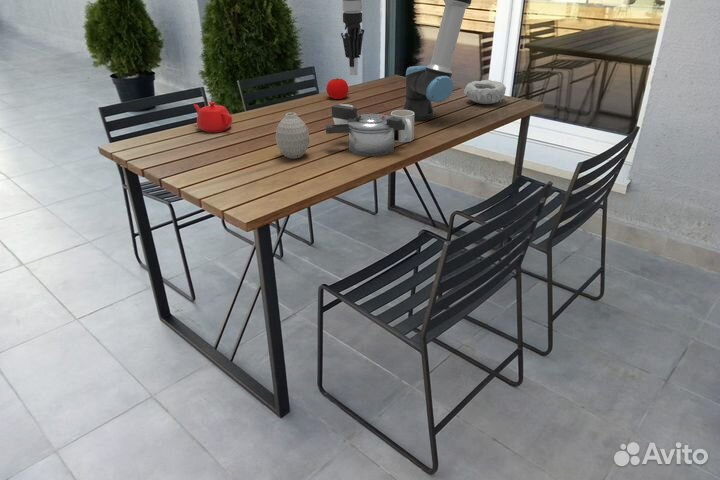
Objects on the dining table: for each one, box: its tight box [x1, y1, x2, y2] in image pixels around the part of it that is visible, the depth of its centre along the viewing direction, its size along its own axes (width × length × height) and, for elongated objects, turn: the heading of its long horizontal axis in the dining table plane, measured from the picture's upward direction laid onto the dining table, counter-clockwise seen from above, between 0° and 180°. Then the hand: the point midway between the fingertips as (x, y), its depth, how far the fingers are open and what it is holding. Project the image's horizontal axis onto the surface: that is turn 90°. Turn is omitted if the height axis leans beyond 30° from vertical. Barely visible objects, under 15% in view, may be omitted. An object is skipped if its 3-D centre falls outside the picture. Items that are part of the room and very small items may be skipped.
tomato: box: [326, 78, 350, 100], centre depth 288 cm, size 12×12×10 cm
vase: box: [275, 112, 310, 160], centre depth 209 cm, size 13×13×17 cm
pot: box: [325, 121, 405, 157], centre depth 216 cm, size 31×19×10 cm, turn 96°
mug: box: [390, 109, 415, 143], centre depth 225 cm, size 10×12×11 cm
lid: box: [331, 104, 402, 131], centre depth 214 cm, size 31×19×5 cm, turn 56°
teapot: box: [193, 101, 233, 133], centre depth 244 cm, size 25×16×12 cm, turn 53°
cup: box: [332, 103, 354, 125], centre depth 241 cm, size 8×12×10 cm
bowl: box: [463, 79, 507, 105], centre depth 274 cm, size 21×20×10 cm
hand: (353, 74), depth 221 cm, fingers closed
